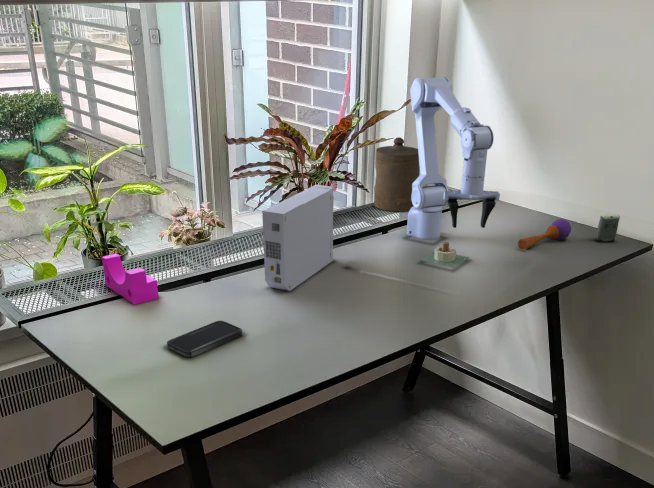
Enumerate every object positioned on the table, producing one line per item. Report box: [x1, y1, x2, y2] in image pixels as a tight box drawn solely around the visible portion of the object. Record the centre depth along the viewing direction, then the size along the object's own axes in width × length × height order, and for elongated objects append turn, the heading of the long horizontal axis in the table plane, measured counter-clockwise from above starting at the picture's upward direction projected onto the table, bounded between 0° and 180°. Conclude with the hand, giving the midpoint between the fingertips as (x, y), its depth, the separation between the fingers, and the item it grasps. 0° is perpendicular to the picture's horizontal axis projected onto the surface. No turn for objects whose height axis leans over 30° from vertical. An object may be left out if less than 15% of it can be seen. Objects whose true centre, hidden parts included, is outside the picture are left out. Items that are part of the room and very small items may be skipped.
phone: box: [166, 320, 243, 358], centre depth 154 cm, size 8×1×15 cm
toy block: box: [101, 253, 160, 305], centre depth 175 cm, size 15×6×8 cm, turn 41°
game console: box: [261, 184, 334, 292], centre depth 184 cm, size 6×27×20 cm, turn 155°
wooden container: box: [373, 136, 420, 212], centre depth 241 cm, size 15×15×22 cm
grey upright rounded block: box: [596, 213, 621, 243], centre depth 215 cm, size 6×5×8 cm
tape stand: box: [420, 241, 470, 269], centre depth 198 cm, size 10×10×6 cm
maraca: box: [517, 218, 572, 251], centre depth 213 cm, size 6×6×20 cm
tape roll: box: [434, 245, 457, 262], centre depth 198 cm, size 6×6×2 cm
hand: (468, 226), depth 195 cm, fingers open, 7 cm apart
